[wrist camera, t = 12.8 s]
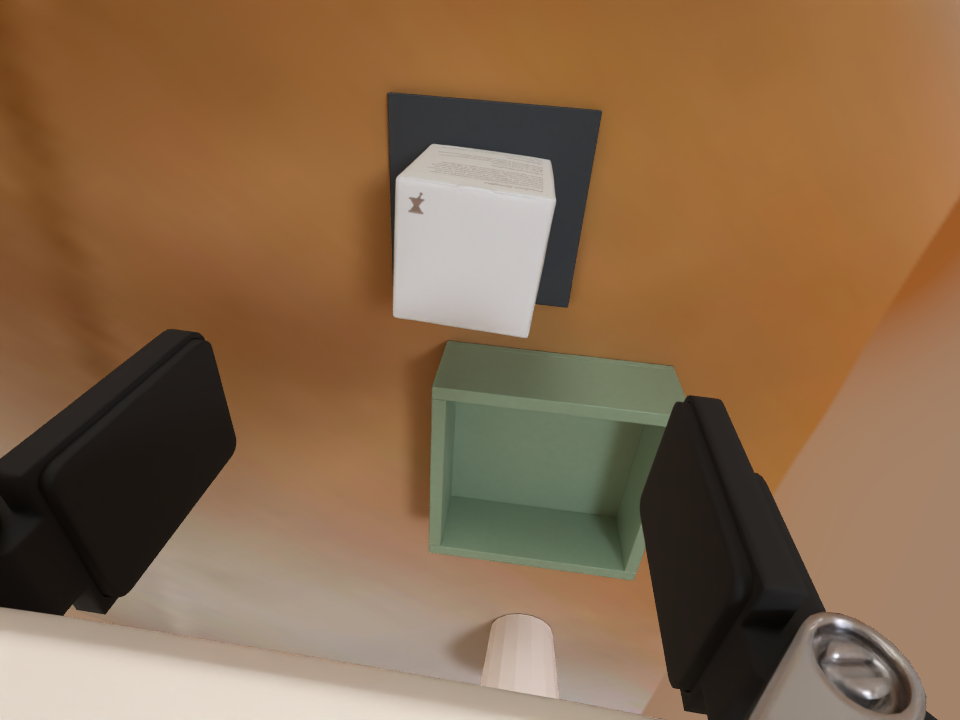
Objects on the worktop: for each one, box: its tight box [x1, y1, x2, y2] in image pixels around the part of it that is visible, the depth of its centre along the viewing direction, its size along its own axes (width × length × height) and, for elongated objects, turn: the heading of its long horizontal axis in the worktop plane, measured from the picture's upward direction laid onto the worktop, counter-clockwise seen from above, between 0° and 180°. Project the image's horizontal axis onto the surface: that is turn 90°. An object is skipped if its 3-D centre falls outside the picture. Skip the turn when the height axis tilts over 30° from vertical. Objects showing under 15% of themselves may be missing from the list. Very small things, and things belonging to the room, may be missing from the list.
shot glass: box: [480, 614, 559, 699], centre depth 43 cm, size 7×7×7 cm
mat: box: [388, 92, 602, 307], centre depth 26 cm, size 10×10×1 cm
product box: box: [393, 144, 556, 338], centre depth 23 cm, size 6×6×7 cm
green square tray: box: [429, 341, 686, 580], centre depth 32 cm, size 14×14×5 cm
